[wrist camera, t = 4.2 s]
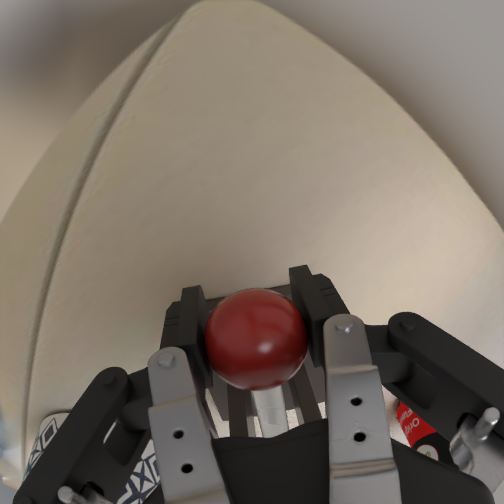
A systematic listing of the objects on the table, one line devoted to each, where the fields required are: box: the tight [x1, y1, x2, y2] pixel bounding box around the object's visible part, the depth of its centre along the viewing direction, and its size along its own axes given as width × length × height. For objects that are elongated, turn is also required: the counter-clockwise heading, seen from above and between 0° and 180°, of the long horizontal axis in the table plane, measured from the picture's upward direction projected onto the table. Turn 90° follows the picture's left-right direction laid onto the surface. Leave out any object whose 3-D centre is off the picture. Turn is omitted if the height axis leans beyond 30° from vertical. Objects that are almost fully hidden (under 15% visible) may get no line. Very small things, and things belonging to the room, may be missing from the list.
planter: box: [22, 413, 161, 504], centre depth 21 cm, size 16×16×14 cm
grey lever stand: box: [206, 285, 325, 437], centre depth 17 cm, size 12×9×13 cm
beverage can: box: [396, 402, 460, 470], centre depth 23 cm, size 6×6×12 cm
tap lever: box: [204, 288, 309, 438], centre depth 12 cm, size 13×4×4 cm, turn 9°
